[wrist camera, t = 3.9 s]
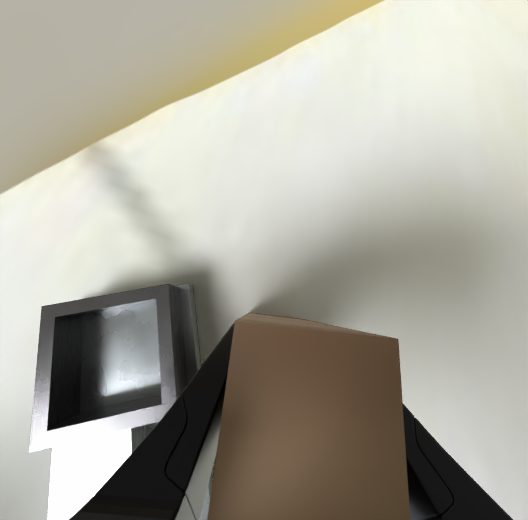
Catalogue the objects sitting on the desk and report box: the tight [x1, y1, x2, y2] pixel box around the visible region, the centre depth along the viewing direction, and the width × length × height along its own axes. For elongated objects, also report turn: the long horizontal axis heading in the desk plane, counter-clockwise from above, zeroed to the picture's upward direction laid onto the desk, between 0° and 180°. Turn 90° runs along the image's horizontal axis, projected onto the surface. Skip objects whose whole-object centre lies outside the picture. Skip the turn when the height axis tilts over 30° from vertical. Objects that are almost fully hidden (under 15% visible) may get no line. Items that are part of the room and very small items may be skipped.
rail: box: [29, 283, 213, 520], centre depth 11 cm, size 22×9×3 cm, turn 11°
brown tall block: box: [207, 313, 410, 520], centre depth 9 cm, size 5×4×11 cm
